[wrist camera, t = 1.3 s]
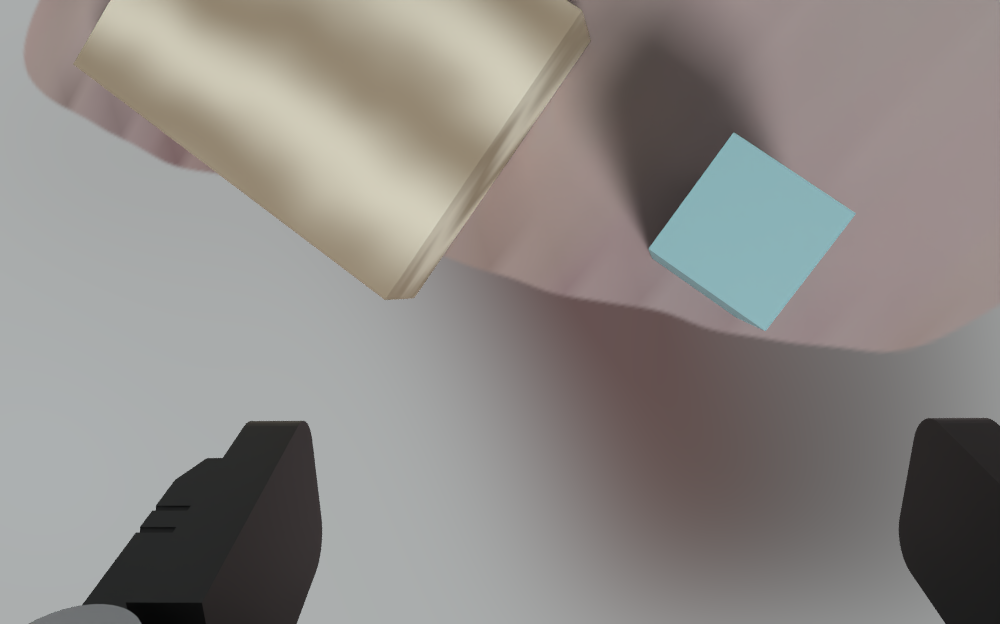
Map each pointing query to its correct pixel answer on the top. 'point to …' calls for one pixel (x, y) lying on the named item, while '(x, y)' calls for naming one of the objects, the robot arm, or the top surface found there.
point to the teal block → (749, 233)
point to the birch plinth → (345, 108)
